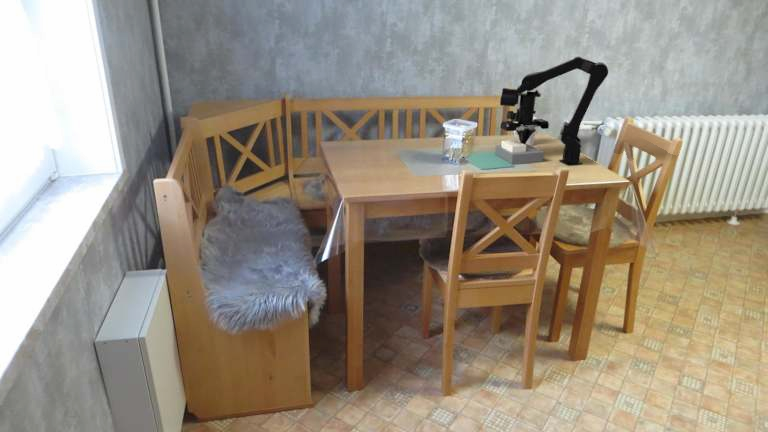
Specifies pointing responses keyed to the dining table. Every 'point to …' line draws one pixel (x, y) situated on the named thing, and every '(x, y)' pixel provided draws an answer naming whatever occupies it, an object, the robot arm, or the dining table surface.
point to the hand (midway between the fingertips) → (522, 145)
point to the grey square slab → (520, 155)
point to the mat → (488, 161)
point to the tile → (513, 146)
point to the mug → (531, 138)
